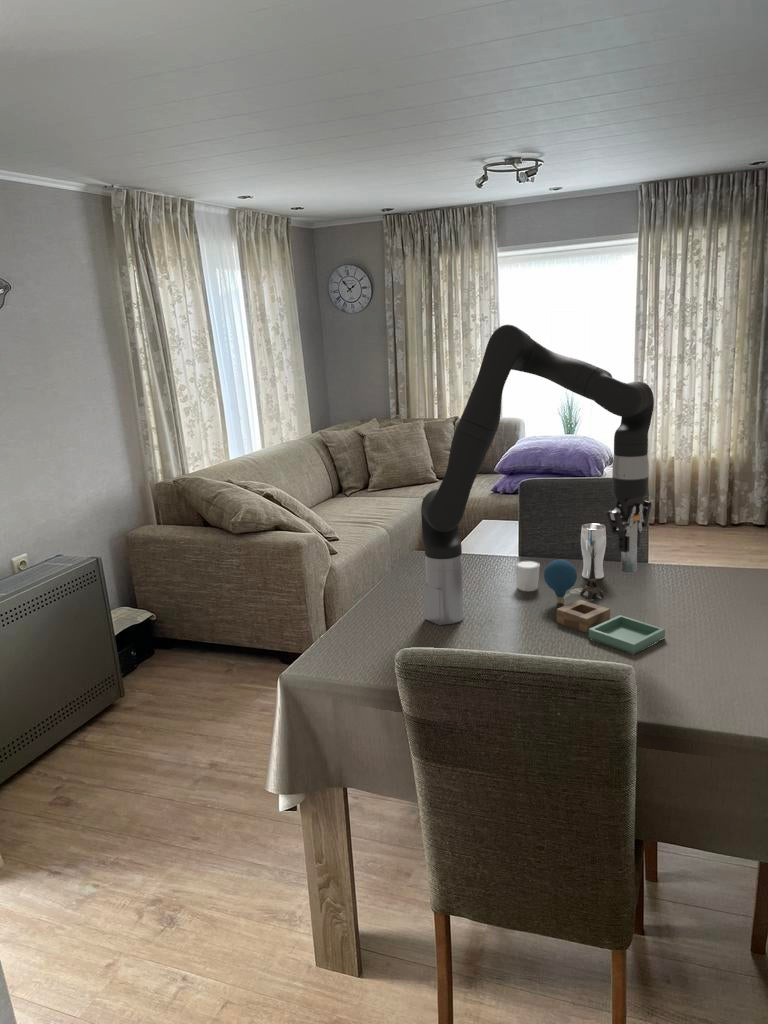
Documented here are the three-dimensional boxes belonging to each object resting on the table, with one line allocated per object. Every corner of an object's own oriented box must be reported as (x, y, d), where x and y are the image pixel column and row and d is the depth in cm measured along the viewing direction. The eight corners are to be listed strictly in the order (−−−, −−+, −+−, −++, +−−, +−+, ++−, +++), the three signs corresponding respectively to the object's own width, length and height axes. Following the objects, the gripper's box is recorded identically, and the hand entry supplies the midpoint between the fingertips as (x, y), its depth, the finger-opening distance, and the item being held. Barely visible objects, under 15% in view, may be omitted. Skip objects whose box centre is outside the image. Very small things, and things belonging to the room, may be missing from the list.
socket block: (586, 632, 172) (586, 619, 171) (556, 622, 179) (556, 609, 178) (609, 622, 177) (610, 608, 176) (579, 612, 184) (579, 599, 183)
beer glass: (579, 579, 208) (580, 529, 204) (580, 571, 214) (581, 522, 210) (605, 580, 206) (606, 529, 202) (605, 572, 212) (606, 523, 208)
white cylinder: (542, 591, 200) (542, 567, 199) (517, 592, 200) (517, 568, 199) (537, 583, 207) (537, 559, 205) (513, 584, 207) (513, 560, 205)
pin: (631, 574, 161) (632, 518, 158) (614, 570, 165) (615, 515, 161) (643, 569, 164) (644, 514, 161) (626, 565, 167) (626, 511, 164)
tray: (633, 655, 159) (634, 644, 159) (588, 638, 169) (588, 629, 168) (664, 639, 166) (665, 629, 166) (619, 624, 176) (620, 614, 175)
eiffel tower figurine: (625, 594, 196) (626, 547, 192) (617, 608, 187) (619, 559, 184) (570, 588, 203) (570, 542, 200) (560, 600, 194) (560, 553, 191)
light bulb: (553, 611, 186) (553, 566, 183) (538, 600, 194) (538, 557, 191) (582, 606, 188) (583, 562, 185) (566, 595, 196) (566, 553, 193)
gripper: (626, 482, 152) (625, 560, 156) (663, 470, 160) (661, 545, 164) (596, 478, 158) (596, 553, 162) (633, 467, 166) (632, 539, 170)
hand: (629, 549), depth 163 cm, fingers closed on pin, 3 cm apart
